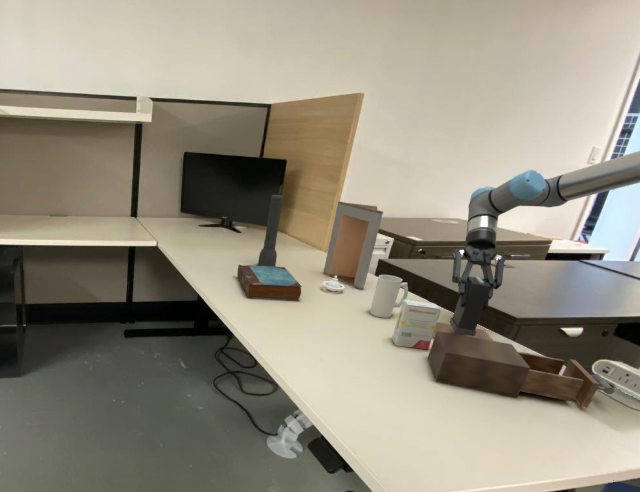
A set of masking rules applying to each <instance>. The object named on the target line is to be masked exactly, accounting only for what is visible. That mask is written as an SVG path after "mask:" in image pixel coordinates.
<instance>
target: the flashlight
mask: <svg viewBox="0 0 640 492" xmlns="http://www.w3.org/2000/svg"><path fill="white" fill-rule="evenodd" d="M283 202H284V196H283V195H280V194H271V197H270V202H269V211H268V218H267V224H266V231H265V238H264V242H263V248H262V249H261V250H260V252H259V255H258V256H259V257H258V262H257V266H273V267H276V264H277V257H278V255H277V250H276V246H277V237H278V233H279V226H280V220H281V213H282V207H283V204H284V203H283Z"/></svg>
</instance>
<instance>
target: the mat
mask: <svg viewBox="0 0 640 492" xmlns="http://www.w3.org/2000/svg"><path fill="white" fill-rule="evenodd" d="M475 330H476V334H475V336H471V335H465V334H459V333H455V332H454V330H453V328H452V326H451V324H450V323H445V322H440V321H437V324H436V327H435V330H434V333H433V336H432V340H434V338H435V335H436V332H437V331H440V332H446V333H452V334H457V335H463V336H468V337H474V338H480V339H485V340H491V341H493V340H492V338H491V337H490V335H489V334H488V332H487V331H486V330H484V329H480V328H476V329H475Z"/></svg>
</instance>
